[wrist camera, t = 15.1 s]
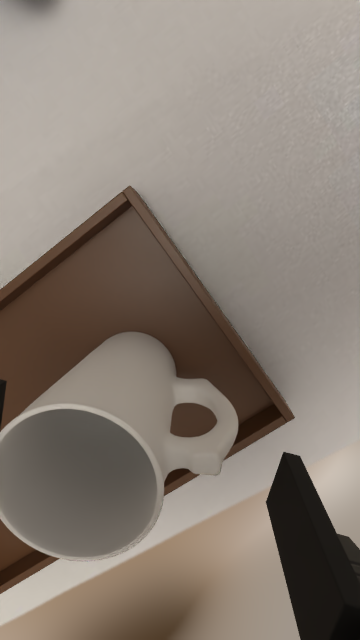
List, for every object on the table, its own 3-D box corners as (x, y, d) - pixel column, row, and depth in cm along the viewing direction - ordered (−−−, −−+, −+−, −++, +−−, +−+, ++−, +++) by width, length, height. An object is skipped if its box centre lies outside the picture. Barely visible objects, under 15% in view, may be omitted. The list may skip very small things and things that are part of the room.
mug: (92, 415, 25) (-2, 560, 13) (83, 328, 24) (-30, 405, 12) (226, 413, 24) (253, 564, 13) (225, 324, 23) (253, 401, 11)
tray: (137, 192, 22) (129, 185, 20) (285, 401, 24) (295, 418, 22) (-147, 418, 27) (-181, 435, 24) (1, 574, 29) (-17, 604, 27)
